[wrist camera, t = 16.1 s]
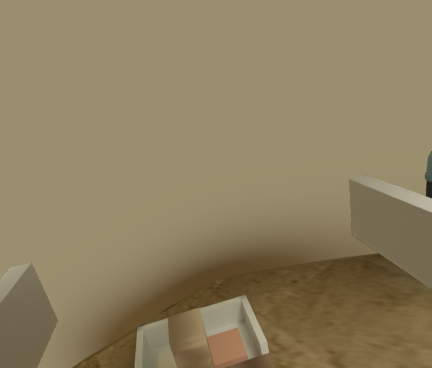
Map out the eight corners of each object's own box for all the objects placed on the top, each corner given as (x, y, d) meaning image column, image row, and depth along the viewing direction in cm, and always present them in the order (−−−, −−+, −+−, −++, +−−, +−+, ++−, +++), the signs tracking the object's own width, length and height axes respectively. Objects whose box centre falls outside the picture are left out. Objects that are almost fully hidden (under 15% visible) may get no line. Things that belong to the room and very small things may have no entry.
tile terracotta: (240, 342, 45) (237, 327, 44) (250, 371, 40) (247, 354, 39) (209, 352, 44) (205, 337, 43) (215, 383, 39) (211, 366, 38)
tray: (249, 318, 50) (245, 294, 49) (271, 369, 41) (266, 341, 39) (145, 351, 48) (137, 327, 46) (143, 413, 38) (132, 385, 37)
